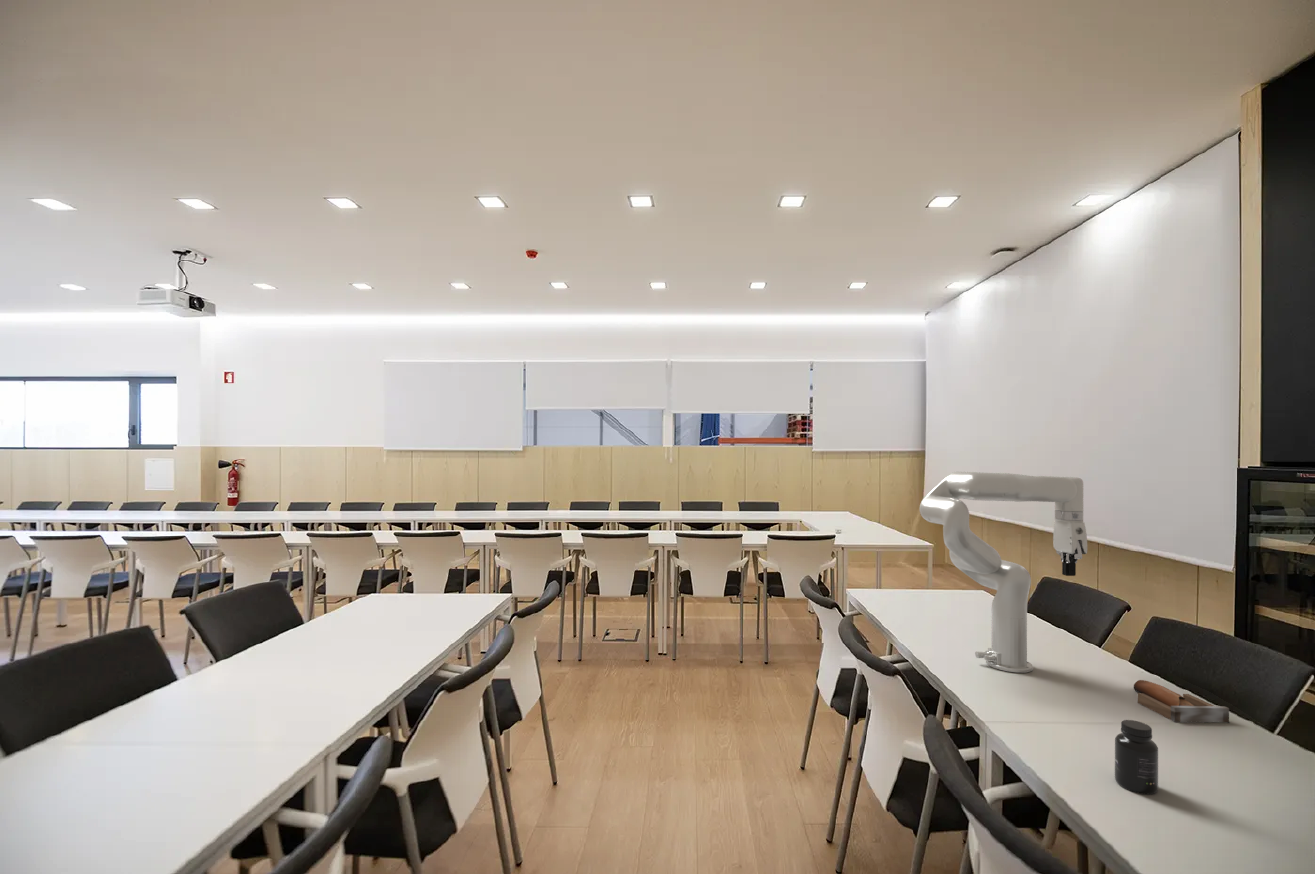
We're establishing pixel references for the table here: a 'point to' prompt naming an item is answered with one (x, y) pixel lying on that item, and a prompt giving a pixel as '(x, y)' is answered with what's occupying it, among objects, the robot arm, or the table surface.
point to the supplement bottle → (1136, 758)
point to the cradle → (1187, 710)
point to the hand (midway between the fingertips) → (1068, 575)
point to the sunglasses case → (1160, 693)
